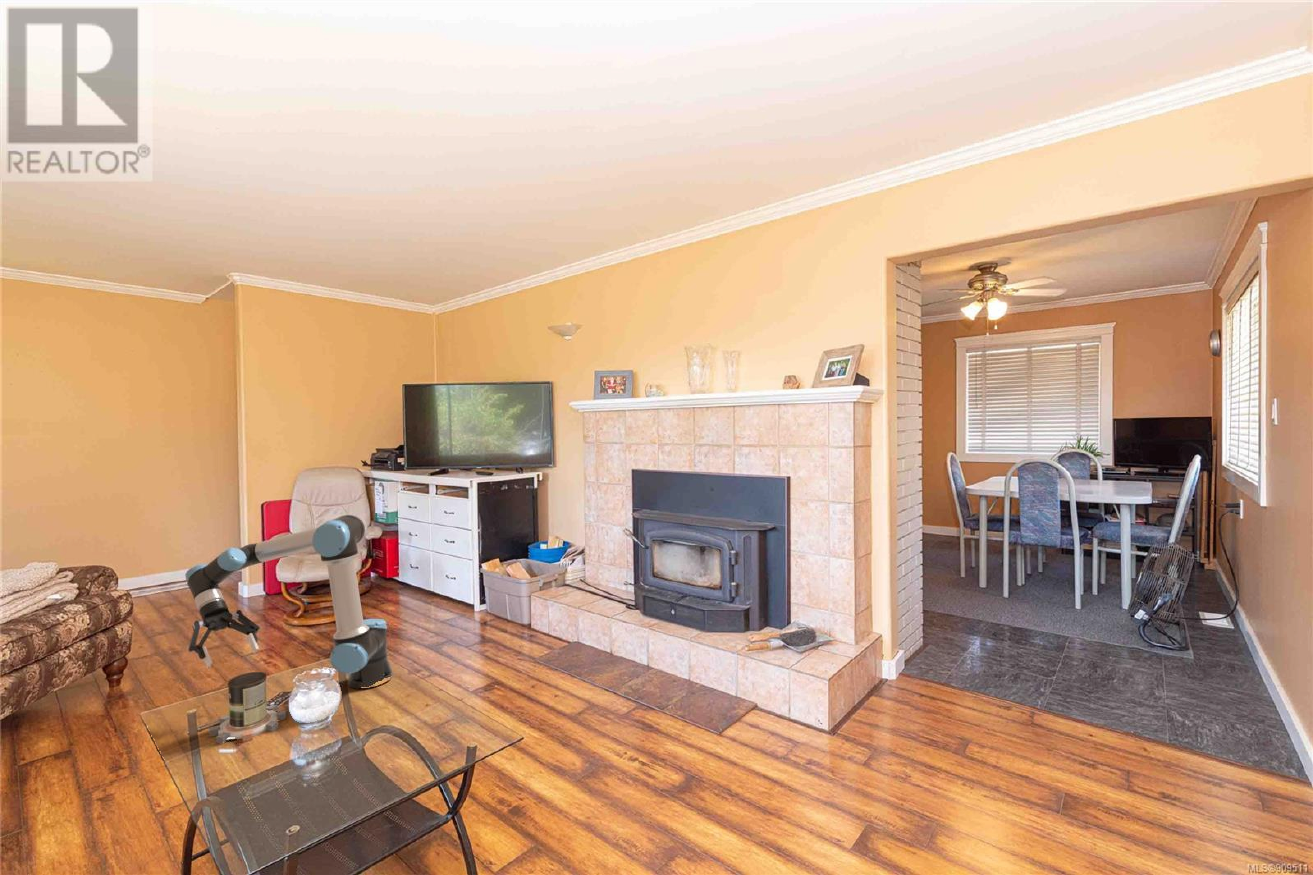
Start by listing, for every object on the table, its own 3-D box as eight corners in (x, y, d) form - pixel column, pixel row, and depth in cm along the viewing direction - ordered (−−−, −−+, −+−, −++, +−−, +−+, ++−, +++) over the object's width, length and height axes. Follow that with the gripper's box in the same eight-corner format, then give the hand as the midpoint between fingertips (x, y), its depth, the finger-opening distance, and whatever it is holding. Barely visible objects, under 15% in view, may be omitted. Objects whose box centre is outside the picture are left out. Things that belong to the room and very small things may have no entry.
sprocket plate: (212, 721, 196) (212, 715, 196) (285, 704, 207) (284, 699, 207) (206, 751, 179) (206, 744, 179) (286, 731, 190) (286, 725, 190)
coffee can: (224, 732, 187) (223, 688, 186) (234, 716, 196) (233, 674, 196) (262, 726, 190) (261, 683, 190) (271, 710, 200) (270, 669, 199)
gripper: (248, 602, 216) (270, 651, 209) (164, 622, 195) (185, 678, 188) (255, 590, 213) (277, 639, 206) (170, 609, 192) (192, 665, 185)
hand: (233, 658), depth 197 cm, fingers open, 13 cm apart
